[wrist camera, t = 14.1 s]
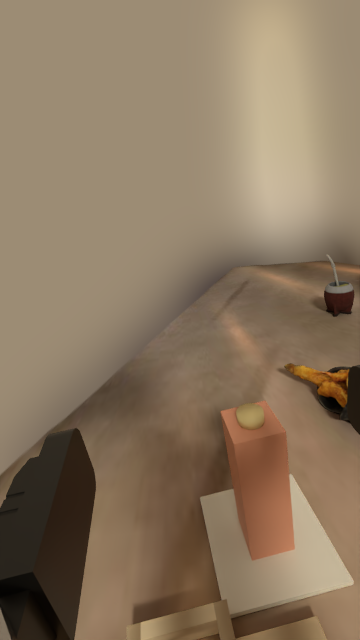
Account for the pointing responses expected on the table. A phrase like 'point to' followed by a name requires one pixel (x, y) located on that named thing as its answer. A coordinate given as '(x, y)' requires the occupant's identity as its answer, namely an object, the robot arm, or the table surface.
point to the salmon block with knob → (260, 478)
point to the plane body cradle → (217, 626)
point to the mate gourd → (338, 295)
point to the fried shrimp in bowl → (327, 386)
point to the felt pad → (270, 558)
